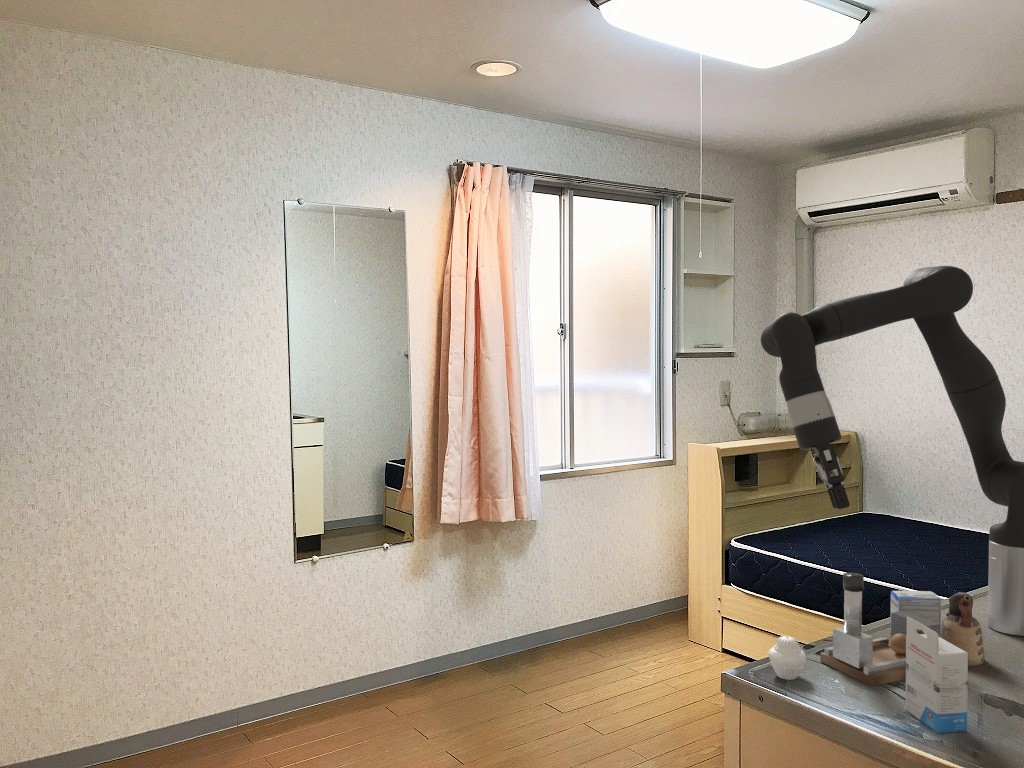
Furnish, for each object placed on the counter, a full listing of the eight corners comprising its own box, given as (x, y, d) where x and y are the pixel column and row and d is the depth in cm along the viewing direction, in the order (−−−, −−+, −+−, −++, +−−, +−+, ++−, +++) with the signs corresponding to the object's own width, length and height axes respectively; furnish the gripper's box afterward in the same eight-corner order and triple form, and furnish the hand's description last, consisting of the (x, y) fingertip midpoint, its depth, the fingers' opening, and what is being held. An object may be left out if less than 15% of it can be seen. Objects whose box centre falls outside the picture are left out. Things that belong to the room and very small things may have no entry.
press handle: (846, 653, 146) (847, 569, 146) (873, 665, 141) (874, 578, 140) (832, 656, 145) (833, 571, 145) (858, 668, 140) (859, 580, 139)
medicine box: (931, 634, 161) (932, 590, 161) (941, 643, 157) (942, 597, 156) (889, 633, 162) (890, 589, 162) (897, 641, 158) (898, 596, 157)
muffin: (807, 672, 143) (808, 632, 143) (804, 686, 137) (804, 644, 137) (770, 667, 146) (770, 627, 145) (765, 679, 140) (765, 639, 140)
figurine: (980, 654, 151) (981, 588, 150) (988, 668, 144) (989, 600, 144) (936, 649, 153) (937, 585, 153) (942, 663, 147) (943, 596, 146)
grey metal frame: (898, 640, 154) (898, 608, 153) (944, 659, 144) (945, 625, 144) (824, 654, 147) (824, 621, 147) (868, 675, 138) (868, 639, 138)
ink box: (968, 732, 121) (970, 632, 120) (936, 734, 120) (938, 633, 119) (934, 707, 129) (935, 613, 128) (903, 708, 129) (905, 614, 128)
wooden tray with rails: (896, 646, 155) (896, 619, 155) (951, 669, 144) (952, 640, 144) (820, 661, 148) (820, 633, 148) (872, 686, 137) (873, 656, 137)
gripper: (837, 411, 143) (868, 503, 140) (831, 417, 157) (859, 501, 153) (793, 423, 145) (822, 514, 142) (791, 428, 158) (817, 511, 155)
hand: (841, 507), depth 148 cm, fingers open, 8 cm apart
